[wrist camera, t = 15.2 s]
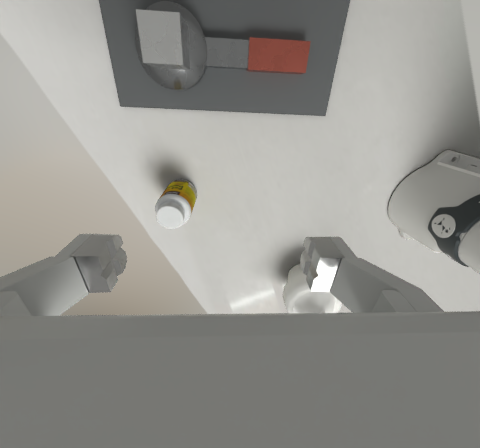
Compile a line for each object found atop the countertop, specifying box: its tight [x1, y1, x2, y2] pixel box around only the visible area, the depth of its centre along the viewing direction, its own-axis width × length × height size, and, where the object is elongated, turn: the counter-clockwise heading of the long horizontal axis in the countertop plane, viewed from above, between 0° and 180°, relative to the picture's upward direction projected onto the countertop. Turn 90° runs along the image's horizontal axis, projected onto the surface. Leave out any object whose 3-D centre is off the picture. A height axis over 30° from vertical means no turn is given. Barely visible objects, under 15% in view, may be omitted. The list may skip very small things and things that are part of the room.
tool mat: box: [99, 0, 350, 116], centre depth 29 cm, size 32×22×1 cm
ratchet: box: [135, 1, 311, 90], centre depth 29 cm, size 22×9×5 cm, turn 87°
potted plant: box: [283, 264, 342, 313], centre depth 42 cm, size 13×12×25 cm
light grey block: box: [136, 9, 190, 70], centre depth 26 cm, size 4×4×6 cm
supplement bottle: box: [155, 179, 197, 229], centre depth 37 cm, size 6×6×10 cm
